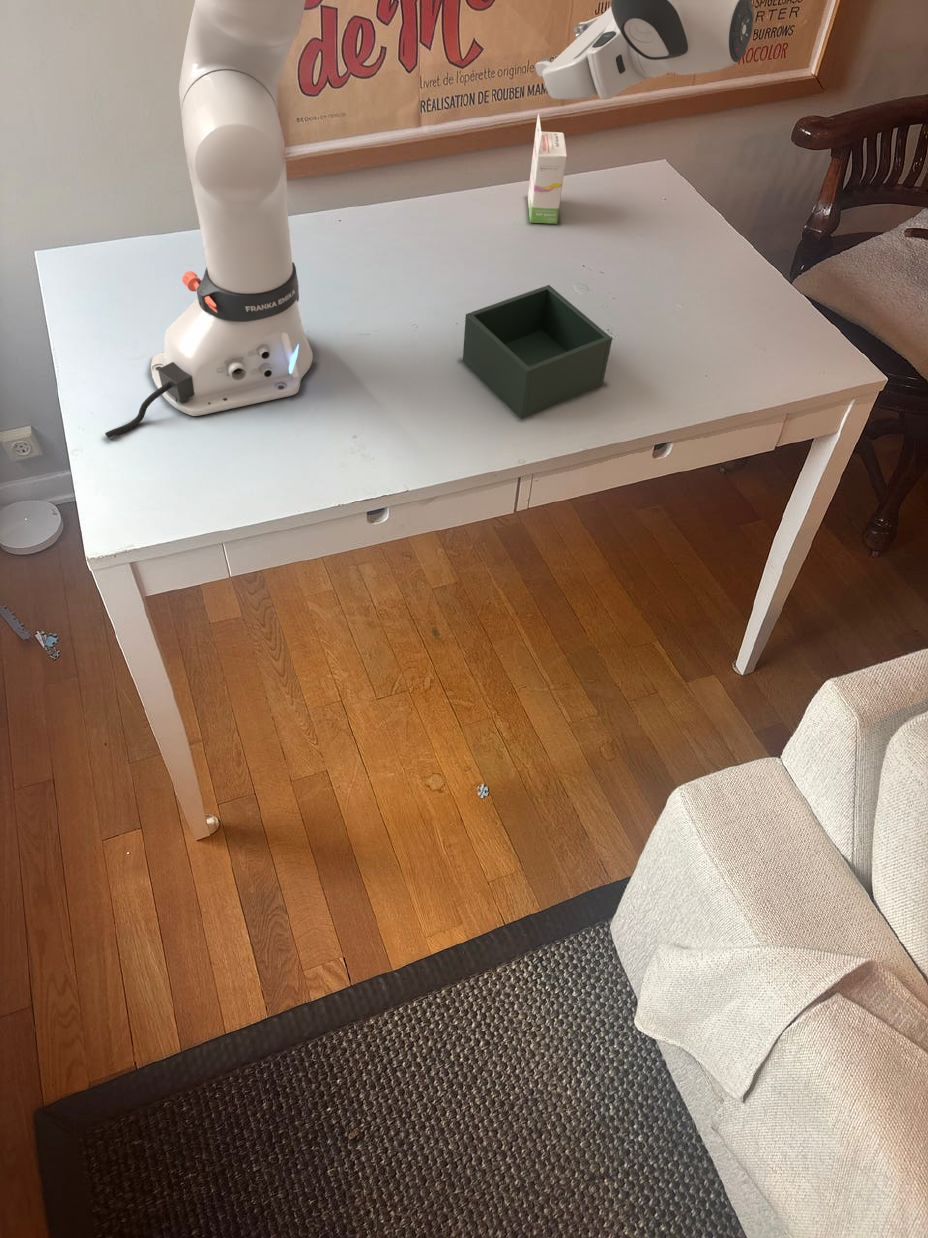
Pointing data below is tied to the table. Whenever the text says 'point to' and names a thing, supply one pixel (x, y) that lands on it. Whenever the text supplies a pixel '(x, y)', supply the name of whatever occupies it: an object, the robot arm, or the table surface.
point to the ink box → (546, 176)
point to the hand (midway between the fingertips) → (558, 49)
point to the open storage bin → (535, 350)
